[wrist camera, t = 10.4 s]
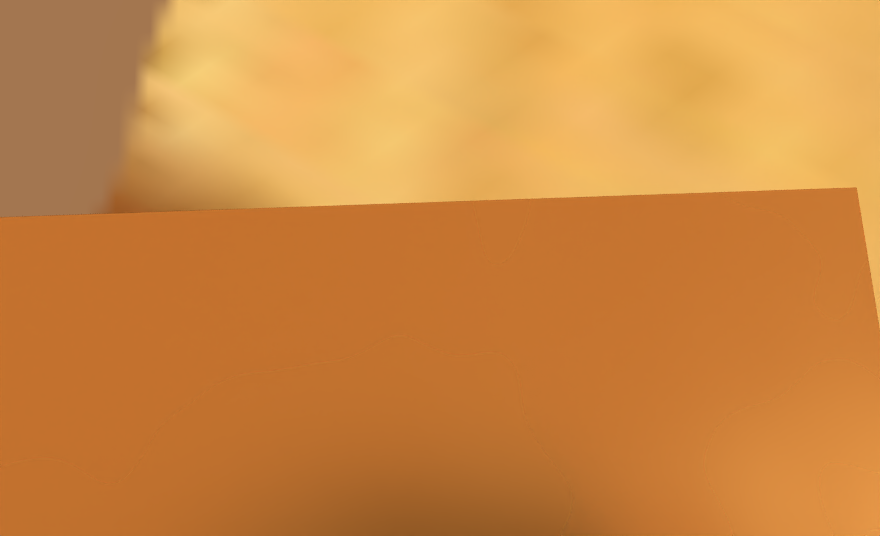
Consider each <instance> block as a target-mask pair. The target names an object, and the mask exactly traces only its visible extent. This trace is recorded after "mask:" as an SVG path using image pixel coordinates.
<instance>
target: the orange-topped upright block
mask: <svg viewBox="0 0 880 536" xmlns="http://www.w3.org/2000/svg"><path fill="white" fill-rule="evenodd" d="M0 536H880V328H879V322H878V316H877V310H876V303H875V297H874V291H873V285H872V279H871V273H870V267H869V261H868V255H867V248H866V242H865V236H864V230H863V224H862V218H861V212H860V206H859V200H858V193H857V188H829V189H801V190H772V191H743V192H714V193H686V194H657V195H628V196H599V197H571V198H542V199H513V200H484V201H455V202H427V203H398V204H369V205H340V206H311V207H283V208H254V209H225V210H196V211H168V212H139V213H110V214H83V215H82V214H81V215H54V216H53V215H52V216H24V217H0Z"/></svg>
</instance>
